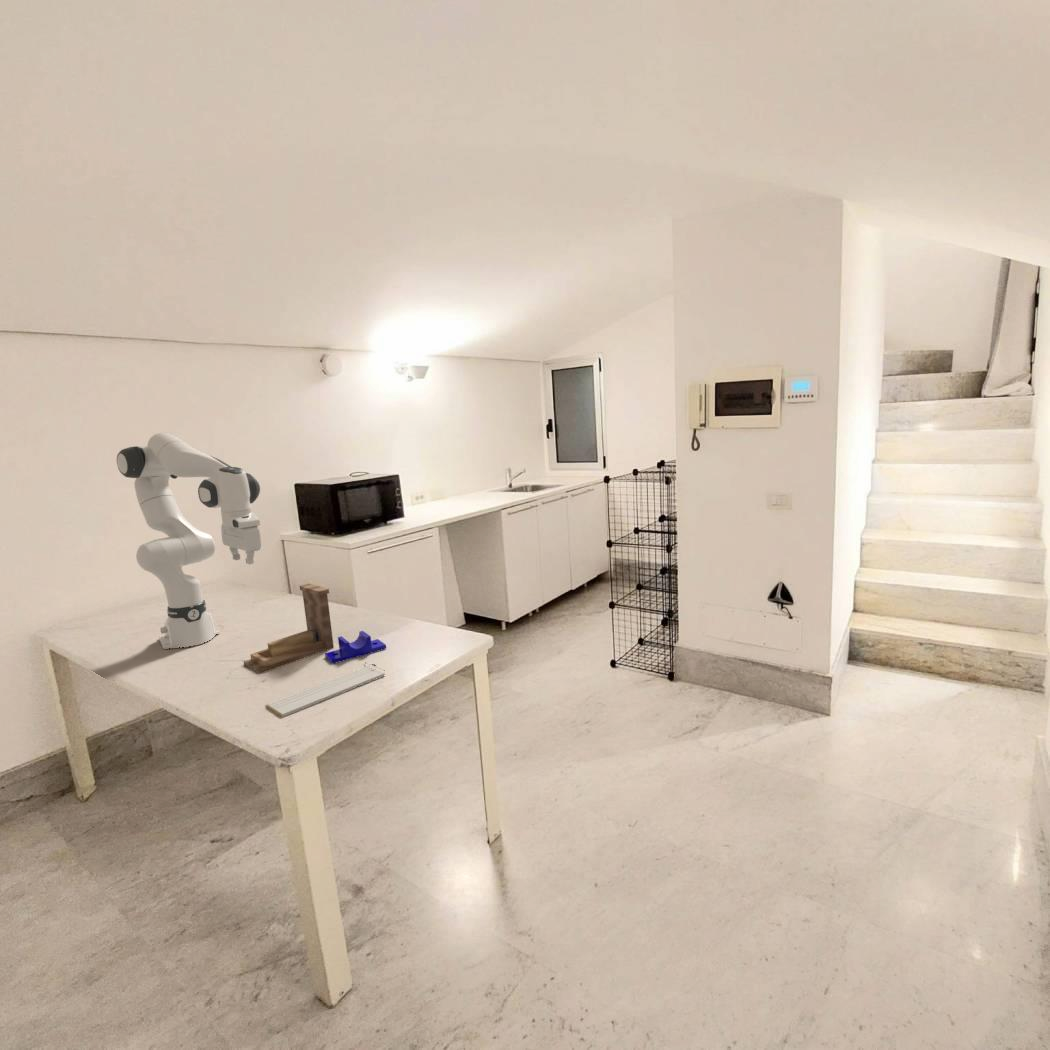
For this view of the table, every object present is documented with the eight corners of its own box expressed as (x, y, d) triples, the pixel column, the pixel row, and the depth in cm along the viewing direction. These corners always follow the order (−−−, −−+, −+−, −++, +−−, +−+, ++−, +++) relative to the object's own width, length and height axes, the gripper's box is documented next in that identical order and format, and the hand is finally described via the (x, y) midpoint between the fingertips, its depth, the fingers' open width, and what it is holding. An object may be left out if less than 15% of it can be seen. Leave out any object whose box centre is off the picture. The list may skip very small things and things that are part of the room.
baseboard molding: (263, 706, 163) (283, 719, 155) (262, 696, 162) (281, 709, 154) (363, 668, 185) (385, 677, 177) (362, 659, 184) (384, 668, 176)
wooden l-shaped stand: (243, 664, 193) (234, 602, 189) (316, 639, 211) (309, 583, 208) (261, 673, 184) (252, 609, 180) (335, 647, 202) (328, 588, 199)
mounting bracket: (332, 665, 188) (330, 647, 187) (325, 658, 194) (323, 640, 193) (386, 649, 198) (384, 632, 197) (378, 644, 204) (376, 627, 203)
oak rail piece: (269, 657, 194) (267, 642, 193) (311, 643, 205) (309, 629, 204) (274, 660, 191) (272, 645, 191) (317, 645, 202) (315, 631, 201)
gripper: (213, 517, 192) (219, 559, 195) (241, 523, 179) (247, 568, 181) (233, 514, 197) (238, 555, 199) (262, 520, 183) (267, 564, 186)
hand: (243, 561), depth 190 cm, fingers open, 8 cm apart
